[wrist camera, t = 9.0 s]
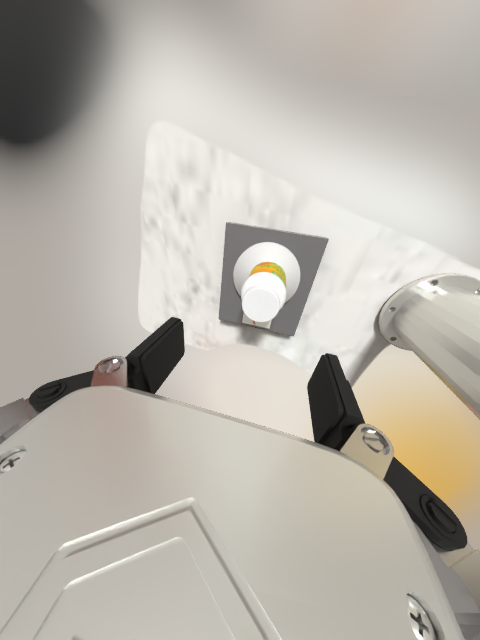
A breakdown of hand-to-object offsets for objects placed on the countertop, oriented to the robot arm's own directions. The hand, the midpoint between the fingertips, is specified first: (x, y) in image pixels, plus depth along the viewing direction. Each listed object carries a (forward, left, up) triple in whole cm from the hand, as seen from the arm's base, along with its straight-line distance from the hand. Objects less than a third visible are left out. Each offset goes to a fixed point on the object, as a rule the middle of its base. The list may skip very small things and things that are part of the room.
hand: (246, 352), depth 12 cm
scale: (0, +2, -20) cm, 20 cm away
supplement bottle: (0, 0, -18) cm, 18 cm away
